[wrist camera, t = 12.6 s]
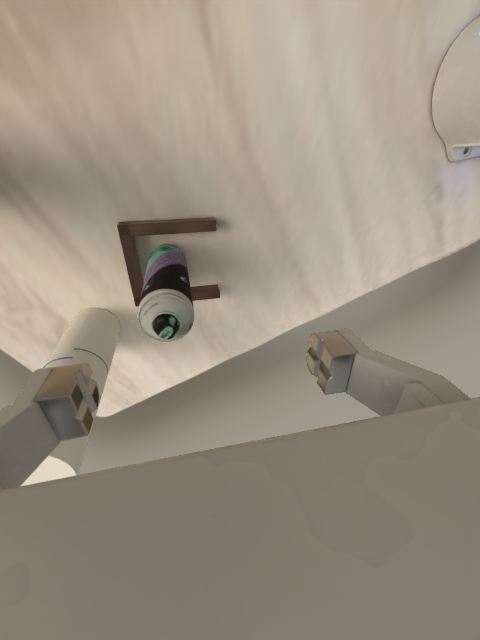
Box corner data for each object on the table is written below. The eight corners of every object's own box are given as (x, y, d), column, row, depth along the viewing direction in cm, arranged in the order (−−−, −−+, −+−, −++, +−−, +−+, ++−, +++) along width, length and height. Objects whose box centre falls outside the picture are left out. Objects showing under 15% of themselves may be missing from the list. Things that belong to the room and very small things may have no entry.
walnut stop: (214, 217, 40) (215, 219, 38) (218, 292, 46) (220, 298, 44) (119, 222, 37) (117, 225, 36) (137, 300, 44) (135, 306, 42)
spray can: (187, 246, 41) (200, 307, 24) (184, 280, 44) (193, 357, 27) (149, 241, 39) (134, 303, 23) (148, 277, 42) (133, 356, 25)
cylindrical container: (65, 310, 42) (-42, 463, 21) (115, 306, 43) (61, 446, 22) (79, 348, 45) (-1, 511, 24) (124, 343, 47) (86, 494, 26)
